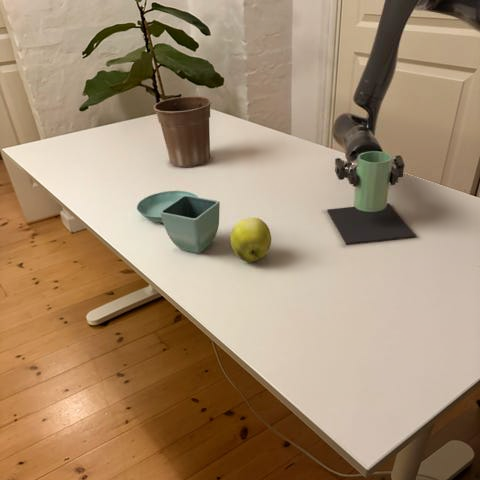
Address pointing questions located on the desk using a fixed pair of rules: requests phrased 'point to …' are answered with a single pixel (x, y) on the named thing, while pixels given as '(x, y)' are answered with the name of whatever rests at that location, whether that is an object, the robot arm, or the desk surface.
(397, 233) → the mat
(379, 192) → the cup
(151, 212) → the saucer
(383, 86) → the robot arm
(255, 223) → the apple
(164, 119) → the plant pot
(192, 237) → the flower pot
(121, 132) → the desk surface
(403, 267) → the desk surface
